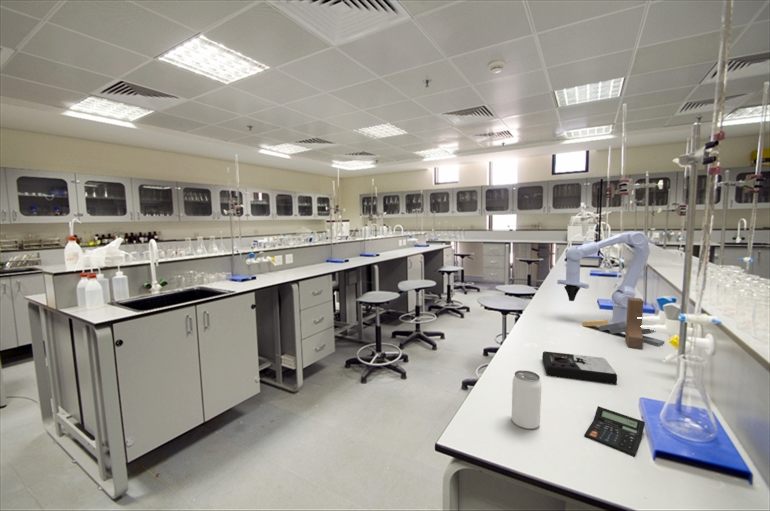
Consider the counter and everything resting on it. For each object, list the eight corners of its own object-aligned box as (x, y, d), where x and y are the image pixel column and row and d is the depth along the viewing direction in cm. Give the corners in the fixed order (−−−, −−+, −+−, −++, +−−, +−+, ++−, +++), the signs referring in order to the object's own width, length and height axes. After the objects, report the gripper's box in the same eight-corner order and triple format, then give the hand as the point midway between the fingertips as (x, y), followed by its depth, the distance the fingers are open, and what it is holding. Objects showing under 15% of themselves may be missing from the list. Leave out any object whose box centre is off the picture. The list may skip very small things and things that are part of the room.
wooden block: (642, 349, 125) (645, 303, 123) (628, 347, 127) (631, 302, 125) (638, 342, 133) (641, 298, 131) (625, 340, 135) (627, 297, 133)
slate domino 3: (629, 330, 141) (653, 326, 134) (631, 335, 141) (655, 331, 134) (624, 331, 138) (649, 328, 132) (626, 336, 138) (651, 333, 131)
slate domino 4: (638, 334, 138) (664, 341, 130) (638, 338, 138) (664, 345, 130) (632, 336, 136) (658, 343, 128) (631, 340, 136) (657, 348, 128)
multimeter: (542, 360, 117) (542, 347, 117) (604, 368, 111) (605, 353, 110) (546, 377, 105) (547, 361, 105) (617, 386, 99) (618, 370, 98)
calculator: (584, 437, 75) (584, 425, 75) (597, 416, 83) (598, 405, 83) (634, 458, 69) (635, 444, 68) (644, 433, 77) (645, 421, 76)
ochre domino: (588, 320, 156) (607, 319, 148) (589, 324, 156) (608, 324, 148) (581, 321, 154) (600, 321, 146) (582, 326, 153) (602, 325, 145)
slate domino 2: (615, 327, 145) (636, 324, 138) (617, 332, 145) (638, 329, 137) (608, 329, 143) (630, 326, 135) (610, 334, 143) (632, 330, 135)
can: (516, 411, 86) (517, 367, 84) (543, 420, 81) (544, 374, 80) (507, 423, 81) (508, 376, 79) (535, 433, 76) (537, 384, 75)
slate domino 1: (604, 324, 149) (624, 321, 141) (606, 329, 149) (626, 326, 141) (598, 326, 147) (617, 323, 139) (599, 330, 147) (619, 327, 139)
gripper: (553, 271, 163) (552, 298, 164) (582, 275, 150) (581, 304, 151) (562, 270, 166) (561, 297, 167) (592, 274, 153) (590, 303, 155)
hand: (571, 300), depth 160 cm, fingers closed
